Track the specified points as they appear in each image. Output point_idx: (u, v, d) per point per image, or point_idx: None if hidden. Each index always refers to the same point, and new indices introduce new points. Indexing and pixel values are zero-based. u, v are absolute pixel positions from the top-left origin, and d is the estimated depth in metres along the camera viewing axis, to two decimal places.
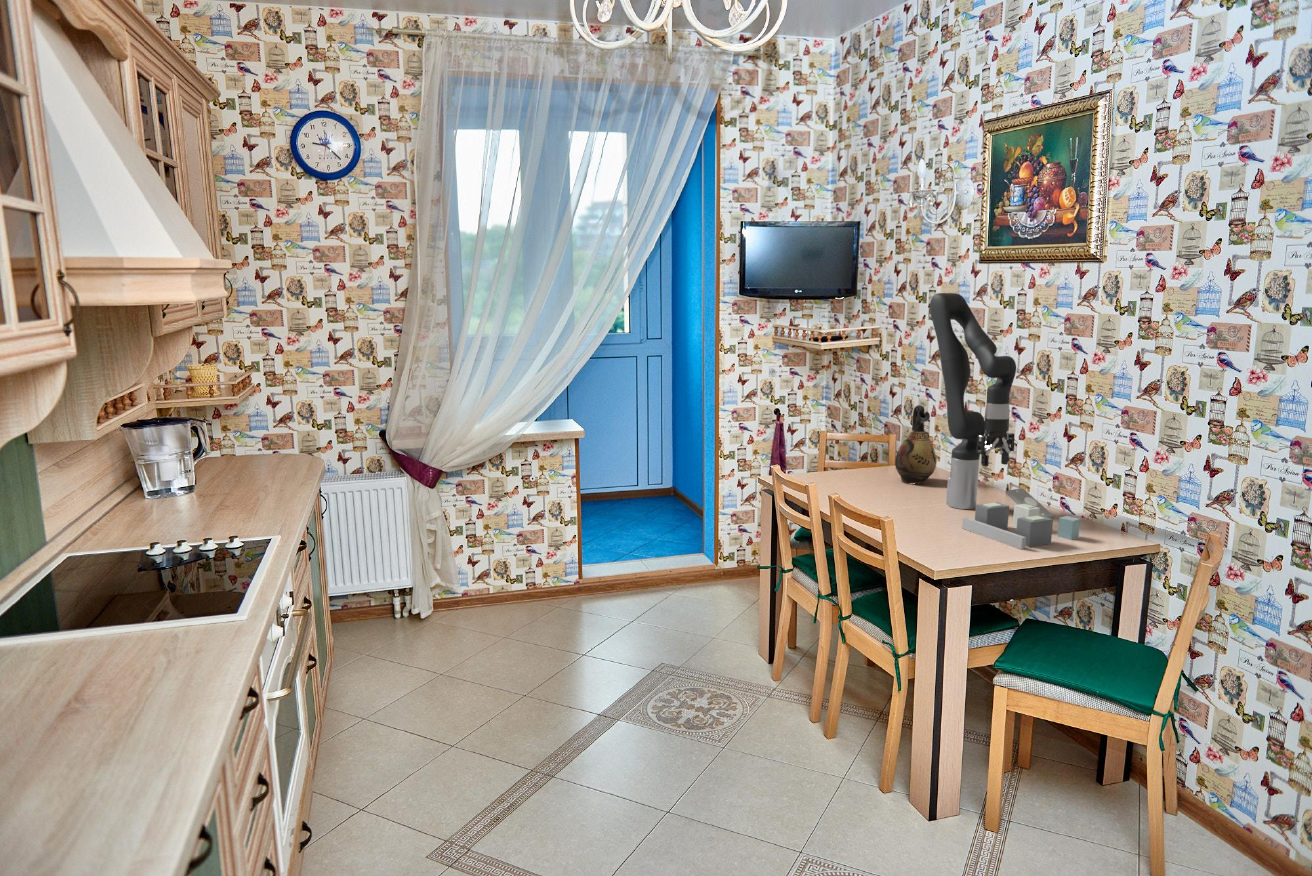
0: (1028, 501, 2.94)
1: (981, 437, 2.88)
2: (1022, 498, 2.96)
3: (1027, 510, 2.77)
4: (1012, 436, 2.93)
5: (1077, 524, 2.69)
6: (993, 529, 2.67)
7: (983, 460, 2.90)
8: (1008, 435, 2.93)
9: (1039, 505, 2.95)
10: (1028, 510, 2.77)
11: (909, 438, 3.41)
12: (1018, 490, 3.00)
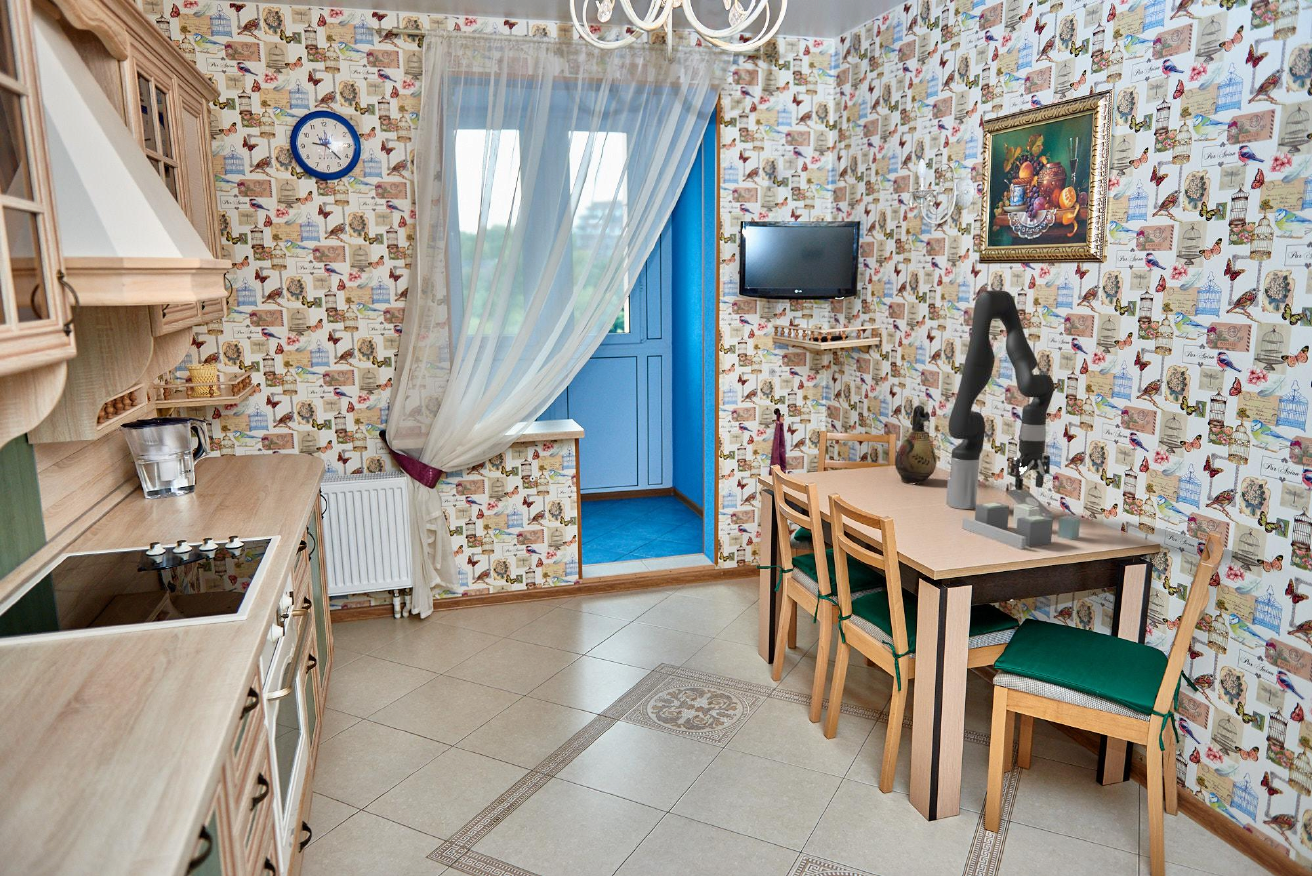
0: (1029, 501, 2.94)
1: (1016, 459, 2.74)
2: (1024, 498, 2.96)
3: (1027, 510, 2.77)
4: (1048, 458, 2.78)
5: (1077, 524, 2.69)
6: (993, 529, 2.67)
7: (1017, 483, 2.76)
8: (1043, 457, 2.79)
9: (1041, 505, 2.95)
10: (1028, 510, 2.77)
11: (909, 438, 3.41)
12: (1020, 490, 3.00)
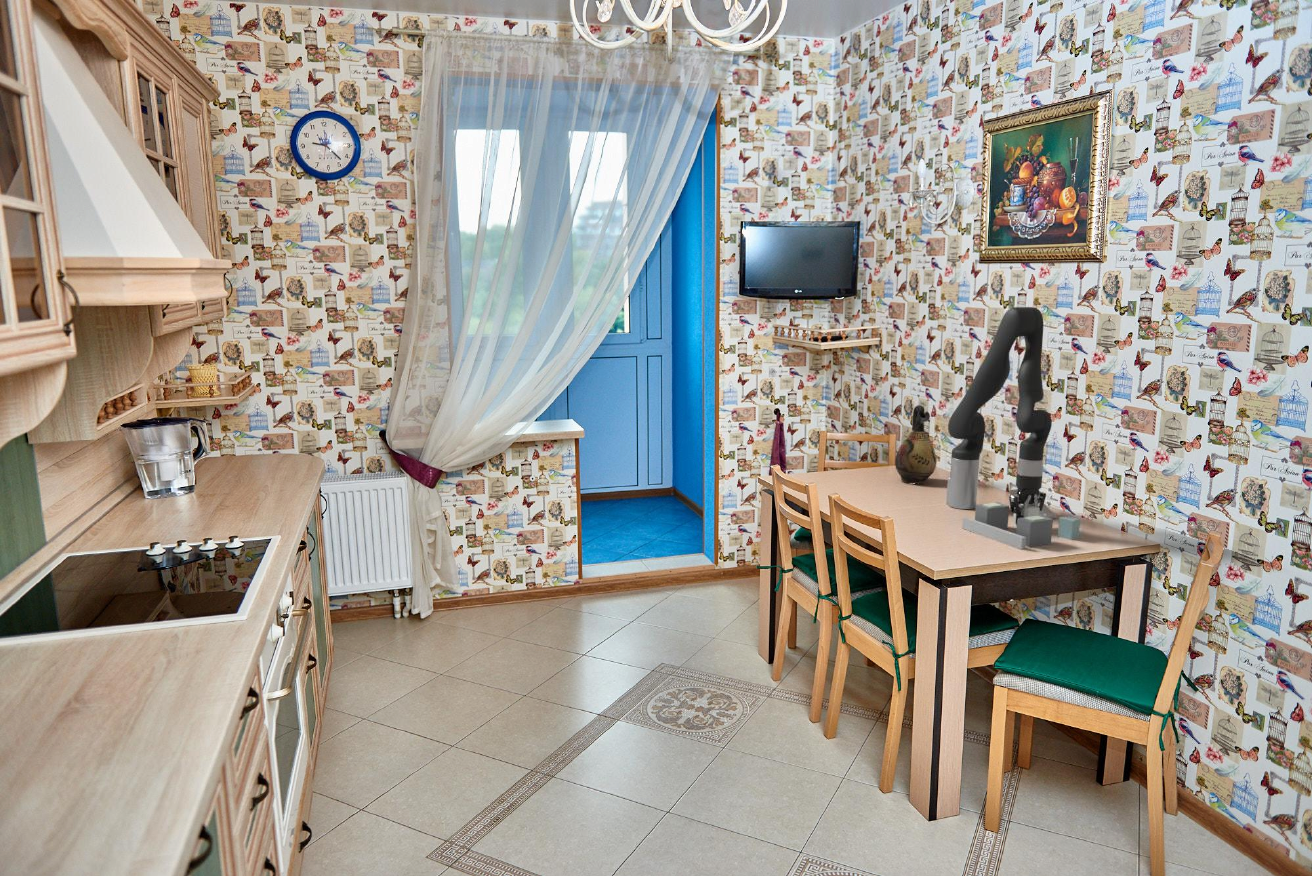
0: None
1: (1013, 498, 2.76)
2: None
3: (1027, 510, 2.77)
4: (1044, 495, 2.81)
5: (1077, 524, 2.69)
6: (993, 529, 2.67)
7: None
8: (1040, 493, 2.81)
9: (1043, 505, 2.95)
10: (1028, 510, 2.77)
11: (909, 438, 3.41)
12: None
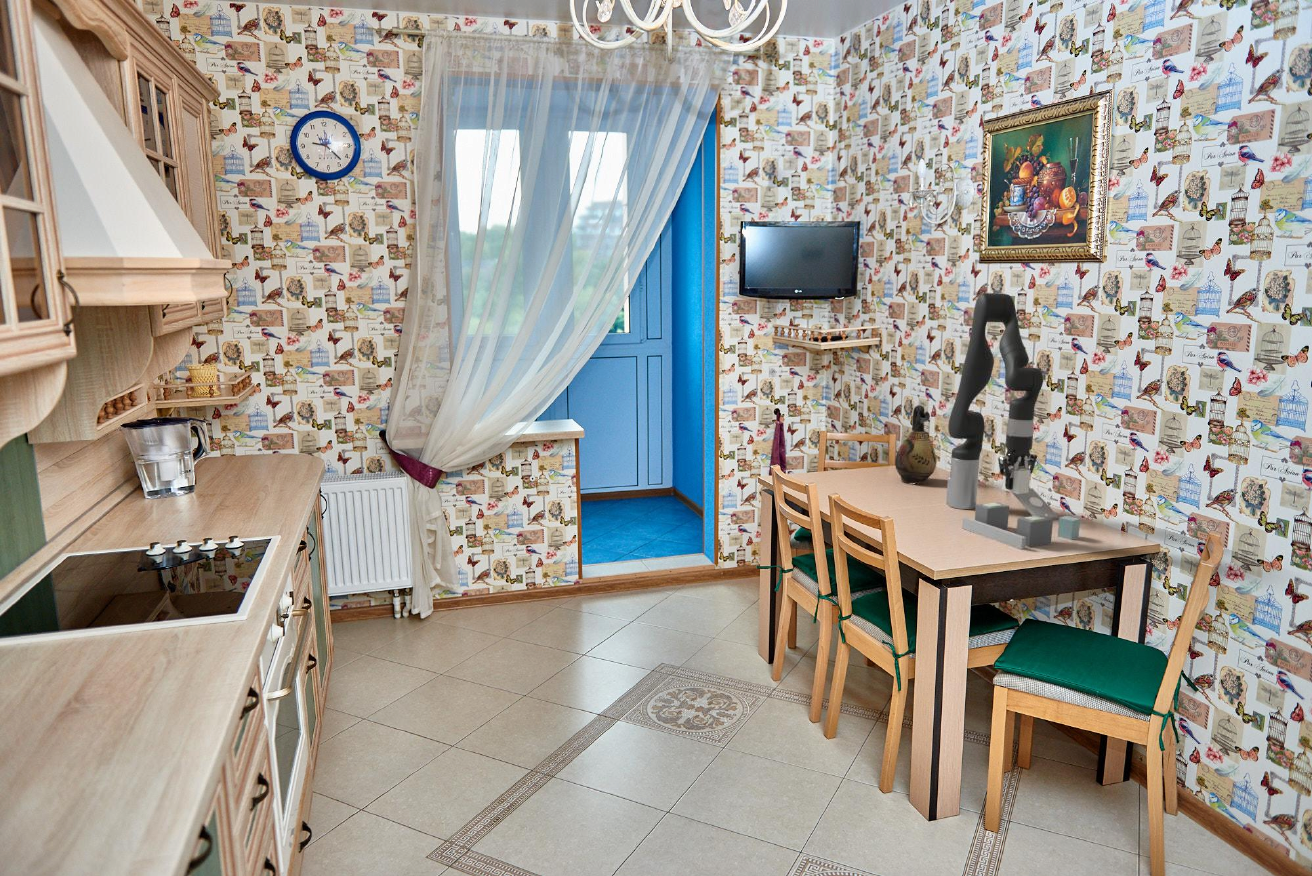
0: (1033, 501, 2.94)
1: (1002, 460, 2.65)
2: (1028, 498, 2.96)
3: (1017, 472, 2.65)
4: (1034, 457, 2.69)
5: (1077, 524, 2.69)
6: (993, 529, 2.67)
7: (1007, 483, 2.67)
8: (1031, 455, 2.69)
9: (1045, 505, 2.95)
10: (1018, 472, 2.65)
11: (909, 438, 3.41)
12: None
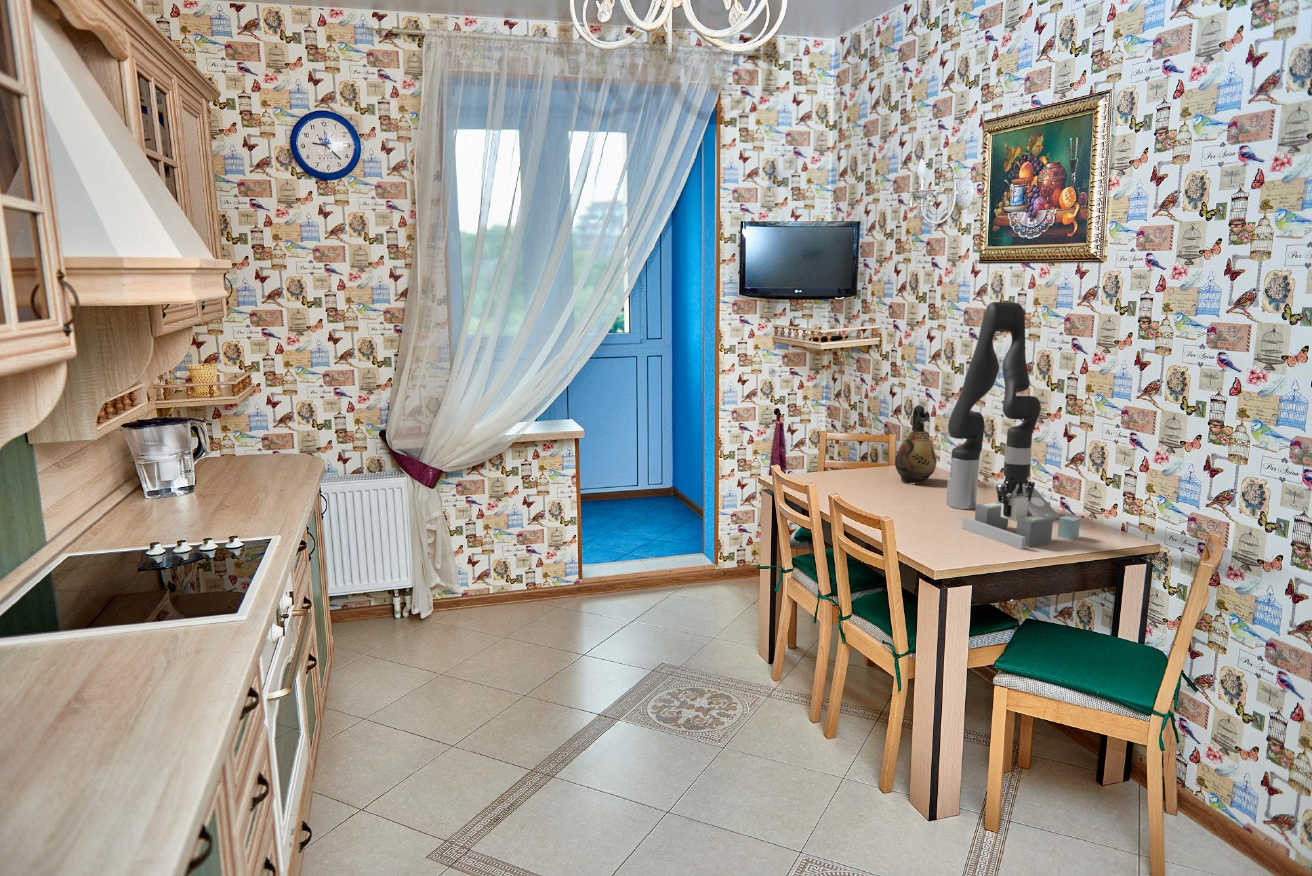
0: (1034, 501, 2.94)
1: (1000, 487, 2.66)
2: None
3: (1015, 500, 2.67)
4: (1032, 485, 2.71)
5: (1077, 524, 2.69)
6: (993, 529, 2.67)
7: (1005, 510, 2.69)
8: (1028, 482, 2.71)
9: (1047, 506, 2.94)
10: (1016, 500, 2.67)
11: (909, 438, 3.41)
12: None
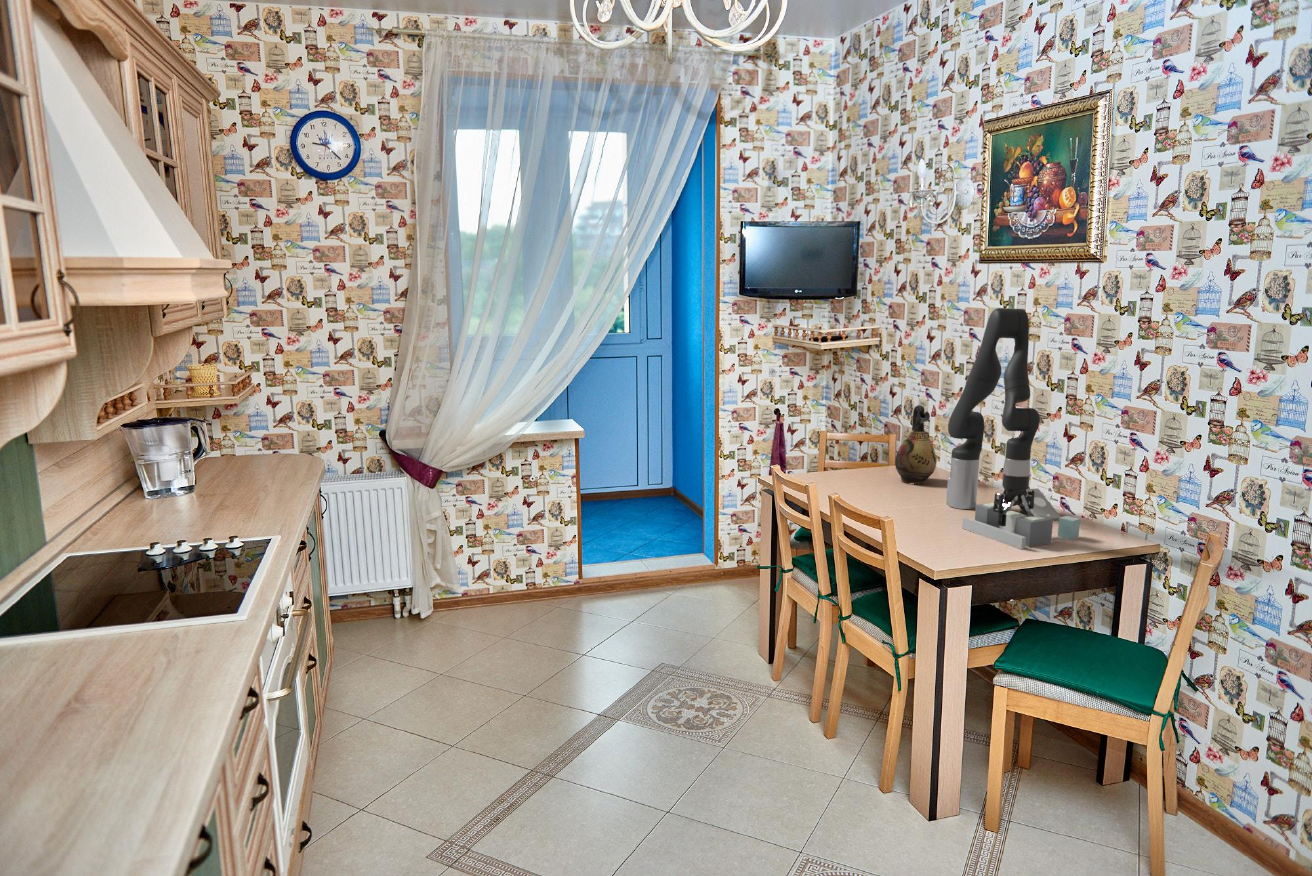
0: (1036, 501, 2.94)
1: (999, 495, 2.67)
2: None
3: (1013, 517, 2.68)
4: (1032, 493, 2.71)
5: (1077, 524, 2.69)
6: (993, 529, 2.67)
7: (1000, 519, 2.69)
8: (1028, 492, 2.71)
9: (1049, 506, 2.94)
10: (1014, 517, 2.68)
11: (909, 438, 3.41)
12: None
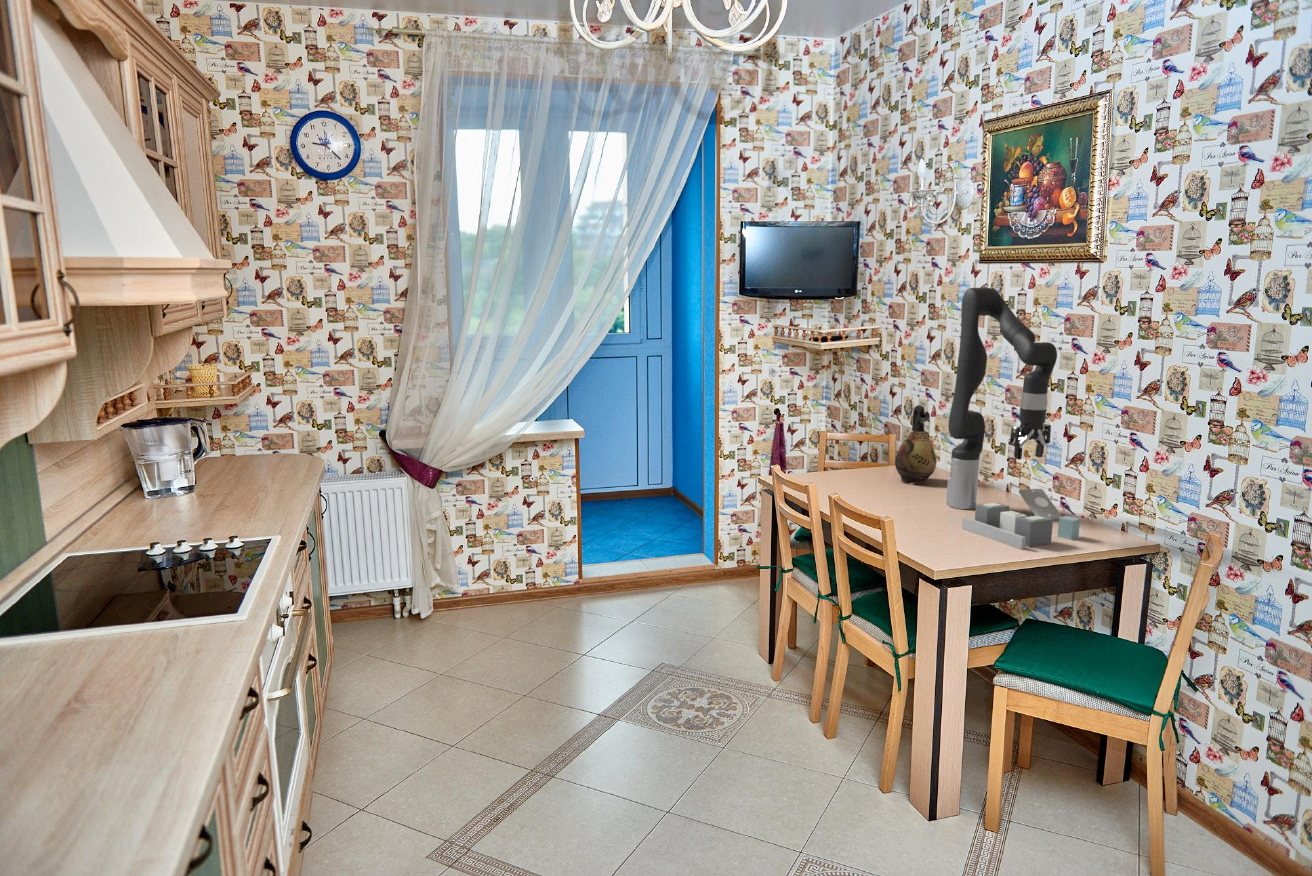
0: (1038, 501, 2.94)
1: (1015, 428, 2.71)
2: (1034, 498, 2.96)
3: (1013, 517, 2.68)
4: (1048, 428, 2.75)
5: (1077, 524, 2.69)
6: (993, 529, 2.67)
7: (1016, 452, 2.73)
8: (1044, 426, 2.76)
9: (1051, 506, 2.94)
10: (1014, 517, 2.68)
11: (909, 438, 3.41)
12: (1034, 490, 3.00)
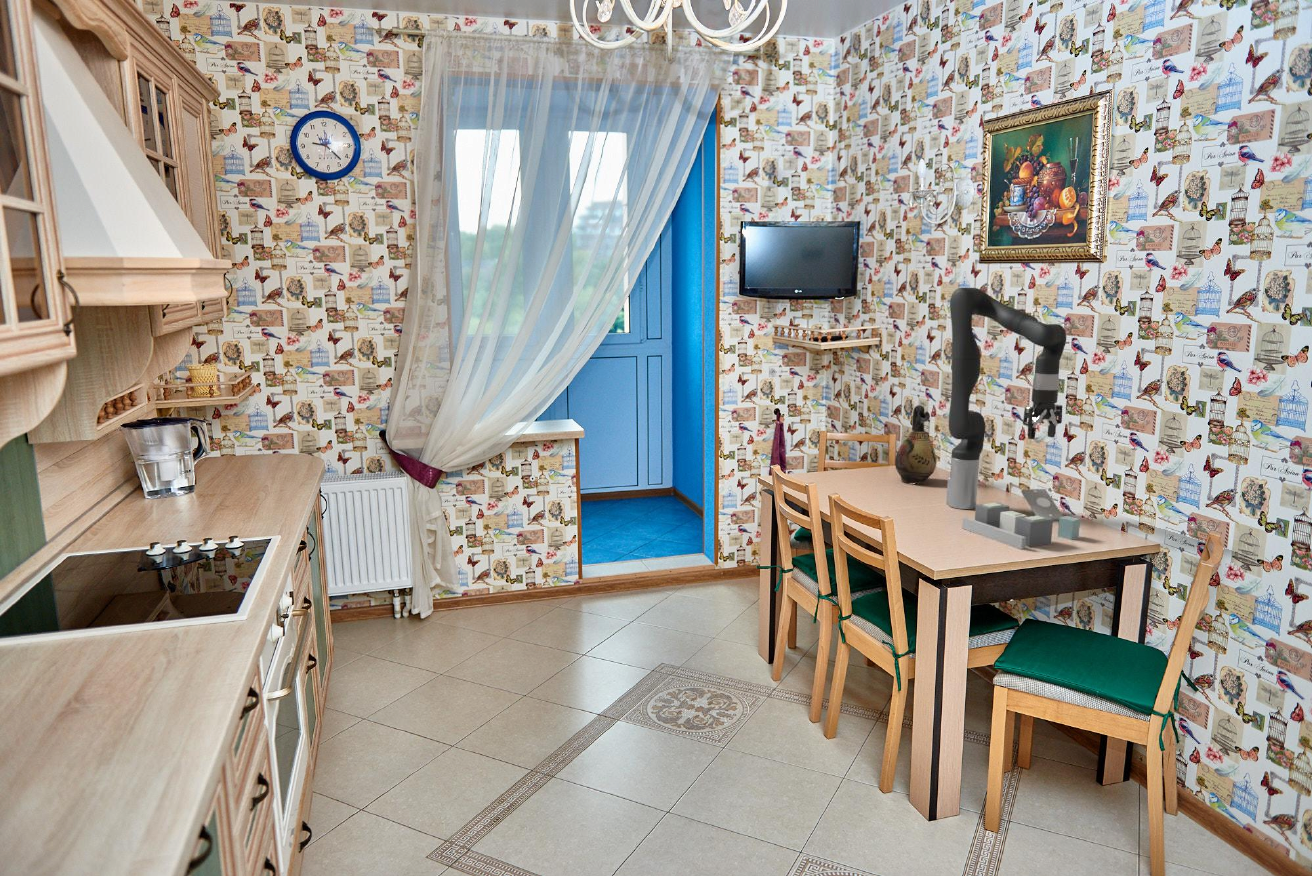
0: (1040, 501, 2.94)
1: (1029, 408, 2.77)
2: (1036, 498, 2.96)
3: (1013, 517, 2.68)
4: (1060, 408, 2.81)
5: (1077, 524, 2.69)
6: (993, 529, 2.67)
7: (1030, 432, 2.79)
8: (1056, 407, 2.82)
9: (1053, 506, 2.94)
10: (1014, 517, 2.68)
11: (909, 438, 3.41)
12: (1037, 490, 3.00)
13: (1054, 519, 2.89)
